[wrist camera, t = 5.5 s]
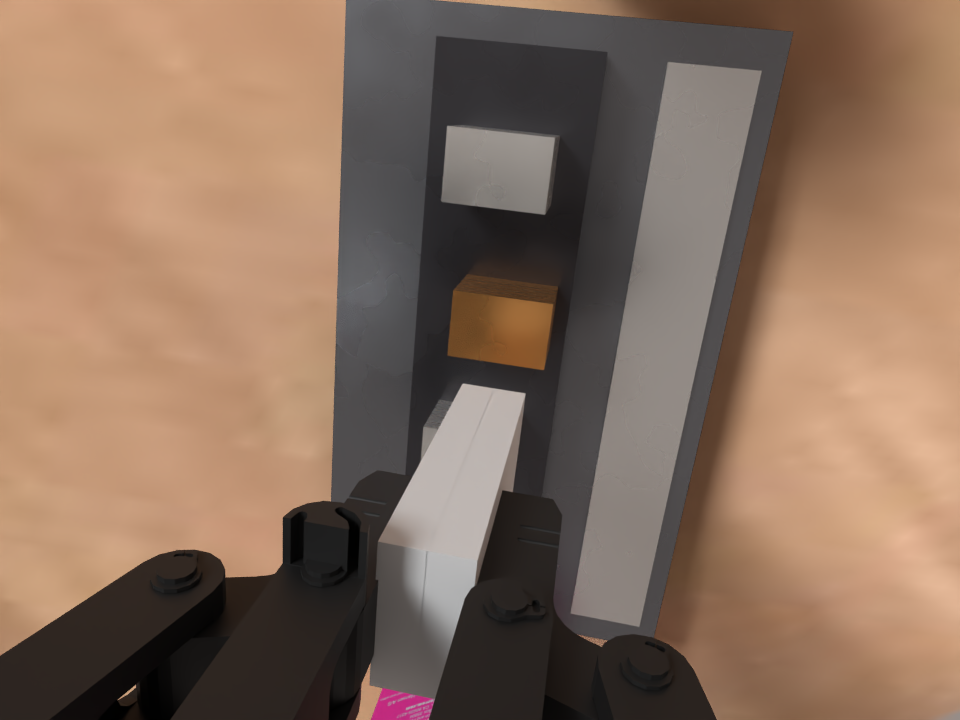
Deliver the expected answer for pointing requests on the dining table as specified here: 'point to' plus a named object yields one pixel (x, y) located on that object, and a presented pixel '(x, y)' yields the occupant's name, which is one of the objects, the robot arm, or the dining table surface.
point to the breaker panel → (400, 224)
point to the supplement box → (402, 706)
